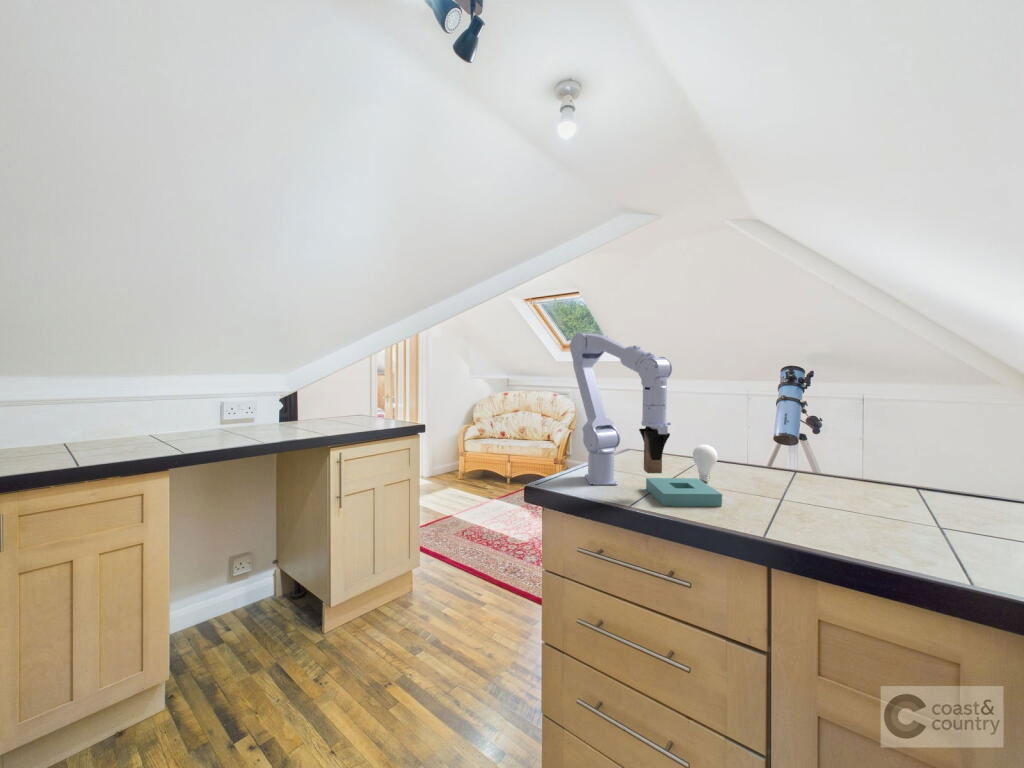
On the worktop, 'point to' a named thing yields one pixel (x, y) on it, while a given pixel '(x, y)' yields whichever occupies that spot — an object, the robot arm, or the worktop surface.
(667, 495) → the socket block
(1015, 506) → the worktop surface
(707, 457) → the light bulb
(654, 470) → the peg
